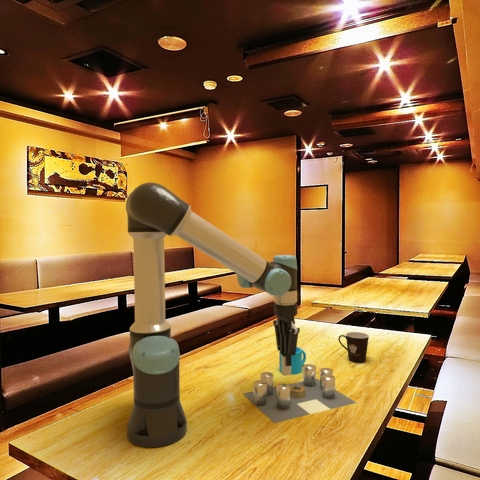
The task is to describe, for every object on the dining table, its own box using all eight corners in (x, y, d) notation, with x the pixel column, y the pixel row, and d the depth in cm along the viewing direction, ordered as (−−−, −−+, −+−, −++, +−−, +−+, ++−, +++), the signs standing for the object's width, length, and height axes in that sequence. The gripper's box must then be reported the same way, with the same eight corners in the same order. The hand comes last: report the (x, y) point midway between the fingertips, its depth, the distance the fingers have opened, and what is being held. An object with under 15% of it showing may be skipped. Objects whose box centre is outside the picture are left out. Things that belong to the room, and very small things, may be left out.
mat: (274, 425, 105) (274, 422, 105) (242, 395, 123) (242, 393, 123) (356, 404, 116) (356, 402, 116) (316, 380, 135) (316, 378, 135)
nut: (297, 399, 119) (297, 392, 118) (286, 394, 122) (286, 388, 122) (308, 394, 122) (308, 388, 122) (297, 390, 125) (297, 383, 125)
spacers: (265, 414, 109) (265, 393, 109) (243, 394, 122) (243, 375, 122) (345, 395, 121) (345, 376, 121) (318, 379, 134) (318, 362, 133)
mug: (290, 378, 137) (290, 354, 136) (274, 371, 143) (274, 349, 143) (313, 369, 144) (313, 347, 144) (297, 363, 151) (297, 342, 150)
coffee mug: (373, 362, 152) (373, 336, 151) (355, 365, 148) (355, 339, 148) (354, 353, 162) (354, 329, 162) (336, 355, 159) (336, 331, 159)
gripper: (306, 305, 123) (307, 379, 124) (285, 298, 135) (286, 365, 136) (286, 307, 120) (287, 383, 121) (265, 300, 131) (266, 369, 133)
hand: (286, 374), depth 128 cm, fingers closed
